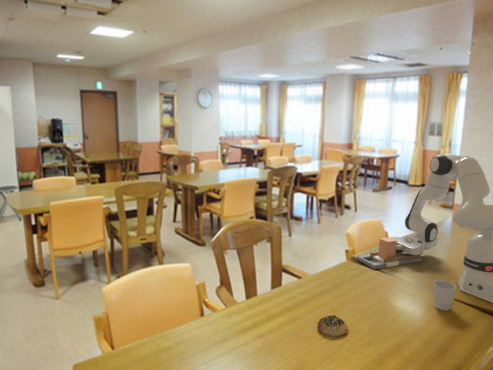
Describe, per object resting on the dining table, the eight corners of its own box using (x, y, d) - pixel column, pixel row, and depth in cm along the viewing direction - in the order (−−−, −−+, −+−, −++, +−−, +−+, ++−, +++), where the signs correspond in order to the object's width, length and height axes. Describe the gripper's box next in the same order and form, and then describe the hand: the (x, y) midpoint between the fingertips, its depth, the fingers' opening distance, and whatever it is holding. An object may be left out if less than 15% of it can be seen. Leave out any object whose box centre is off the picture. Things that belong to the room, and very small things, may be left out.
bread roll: (325, 317, 142) (327, 306, 141) (352, 331, 136) (354, 319, 134) (311, 330, 134) (313, 318, 133) (338, 346, 128) (341, 334, 126)
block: (395, 258, 198) (396, 240, 196) (386, 259, 196) (387, 241, 194) (387, 254, 204) (388, 237, 202) (378, 255, 201) (379, 238, 200)
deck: (421, 261, 200) (422, 255, 199) (374, 269, 188) (374, 262, 188) (402, 252, 213) (402, 246, 212) (356, 259, 201) (357, 253, 201)
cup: (457, 312, 147) (460, 289, 145) (437, 312, 147) (439, 289, 145) (447, 302, 155) (449, 280, 153) (427, 302, 155) (430, 280, 153)
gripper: (398, 233, 214) (379, 235, 209) (426, 244, 195) (406, 247, 190) (397, 243, 215) (378, 246, 210) (425, 255, 196) (405, 259, 191)
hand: (391, 246), depth 200 cm, fingers closed, pressing on block
